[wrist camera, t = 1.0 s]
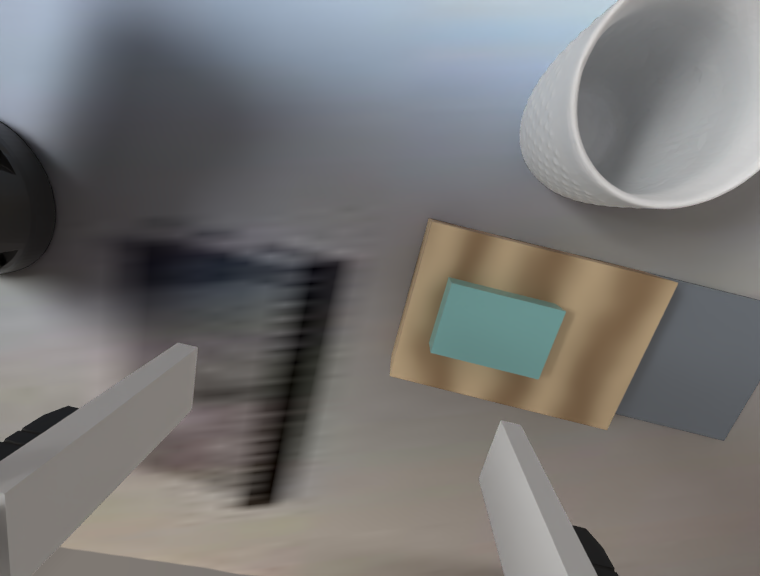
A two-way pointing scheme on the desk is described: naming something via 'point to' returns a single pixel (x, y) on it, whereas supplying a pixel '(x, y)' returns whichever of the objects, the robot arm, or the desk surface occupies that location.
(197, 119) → the desk surface
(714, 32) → the mug
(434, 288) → the board
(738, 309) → the mat
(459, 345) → the teal rectangular block
